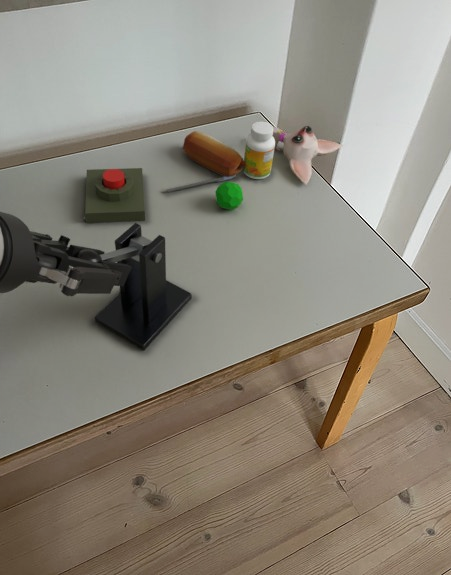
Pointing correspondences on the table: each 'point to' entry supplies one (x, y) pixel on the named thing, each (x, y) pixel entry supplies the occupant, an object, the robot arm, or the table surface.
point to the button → (113, 179)
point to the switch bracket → (143, 295)
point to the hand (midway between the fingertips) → (111, 268)
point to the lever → (117, 252)
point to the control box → (114, 197)
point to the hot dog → (213, 154)
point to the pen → (201, 183)
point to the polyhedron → (229, 195)
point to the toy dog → (303, 150)
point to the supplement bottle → (259, 151)
